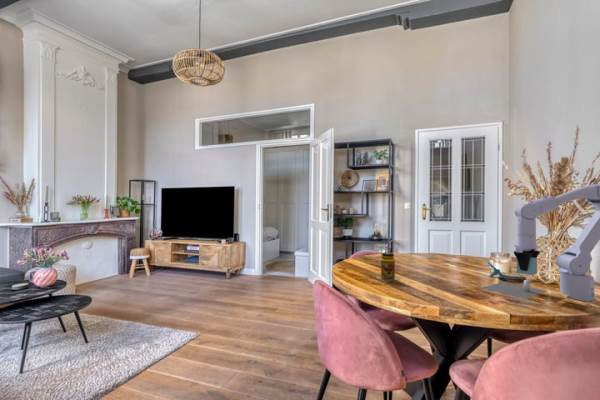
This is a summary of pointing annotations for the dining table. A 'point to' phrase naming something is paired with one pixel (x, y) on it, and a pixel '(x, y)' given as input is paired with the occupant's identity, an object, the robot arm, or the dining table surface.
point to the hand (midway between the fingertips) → (526, 269)
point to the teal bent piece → (496, 272)
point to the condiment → (387, 267)
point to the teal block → (529, 267)
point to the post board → (515, 289)
